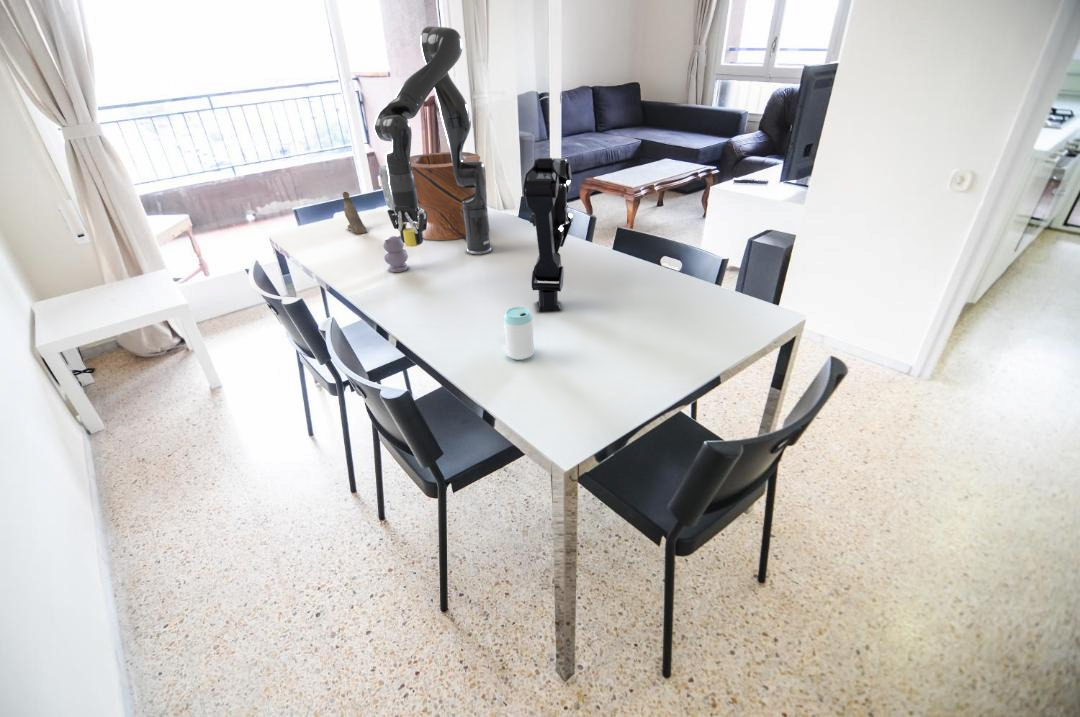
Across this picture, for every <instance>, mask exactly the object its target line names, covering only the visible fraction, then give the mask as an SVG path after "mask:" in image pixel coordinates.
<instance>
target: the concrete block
mask: <svg viewBox="0 0 1080 717" xmlns="http://www.w3.org/2000/svg"><path fill="white" fill-rule="evenodd" d="M378 172H379V173H378V174H379V178H380V182H381V183H380V184H381V186H382V192H383V198H384V201H385V204H386V206H387V207H388V209H389V210H390V209H393V208H395V205H393V201H392V196H391V191H390V185H389V177H388V170H387V165H382V166H379V167H378ZM417 206H418V205H417ZM418 208H419V211H421V208H420V207H419V206H418Z"/></svg>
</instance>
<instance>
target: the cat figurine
mask: <svg viewBox="0 0 1080 717" xmlns="http://www.w3.org/2000/svg"><path fill="white" fill-rule="evenodd" d="M382 246H383V249H384V251H385V253H384V257H383V258H384V261H385V262H386V264H388V269H389V272H391V273H402V272H404V271H407V270H408V264H407V263H406V262H407V260H408V258H409V254H408V251H407V250H406V249H404V247H405V243H403V241H402V239H401V235H398V236H396V235H391V236H388V237H387V238H385V239H384V241H383V245H382Z"/></svg>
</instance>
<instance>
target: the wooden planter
mask: <svg viewBox="0 0 1080 717" xmlns="http://www.w3.org/2000/svg"><path fill="white" fill-rule="evenodd" d="M462 157H463V160H464V161H481V156H480V155H479V154H478V153H477V154H476V153H472V152H468V151H462ZM410 161H411V166H412V172H413V176H414V180H415V186H416V192H417V198H418V203H417V205H418V206H419V207H420V209H422V211H423V212H425V211H426V212H427V214H428V215H427V229H426V230H424V231H422V237H423V240H428V241H429V240H431V241H449V240H451V241H452V240H458V239H459V240H460V239H465V238H464V237H463V235H464V236H465V237H466V233H465V224H464V215H463V207H462V200H463V199H464V198H466V197H468V196H471V195H473V194H474V193H475V188H461V187H459V186H458V185H457V184H456V181H455V177H454V172H453V166H452V160H451V154H450V151H444V152H432V153H424V154H417V155H415V154H414V155H410Z"/></svg>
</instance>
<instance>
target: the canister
mask: <svg viewBox="0 0 1080 717" xmlns="http://www.w3.org/2000/svg"><path fill="white" fill-rule="evenodd" d="M417 229H418V228H417ZM403 235H404V241H405V243H404V246H405V247H408V248H413V247H418V246H419V245H417V244H416V239H415V232H414V229H413V227H406V229H404V230H403Z"/></svg>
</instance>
